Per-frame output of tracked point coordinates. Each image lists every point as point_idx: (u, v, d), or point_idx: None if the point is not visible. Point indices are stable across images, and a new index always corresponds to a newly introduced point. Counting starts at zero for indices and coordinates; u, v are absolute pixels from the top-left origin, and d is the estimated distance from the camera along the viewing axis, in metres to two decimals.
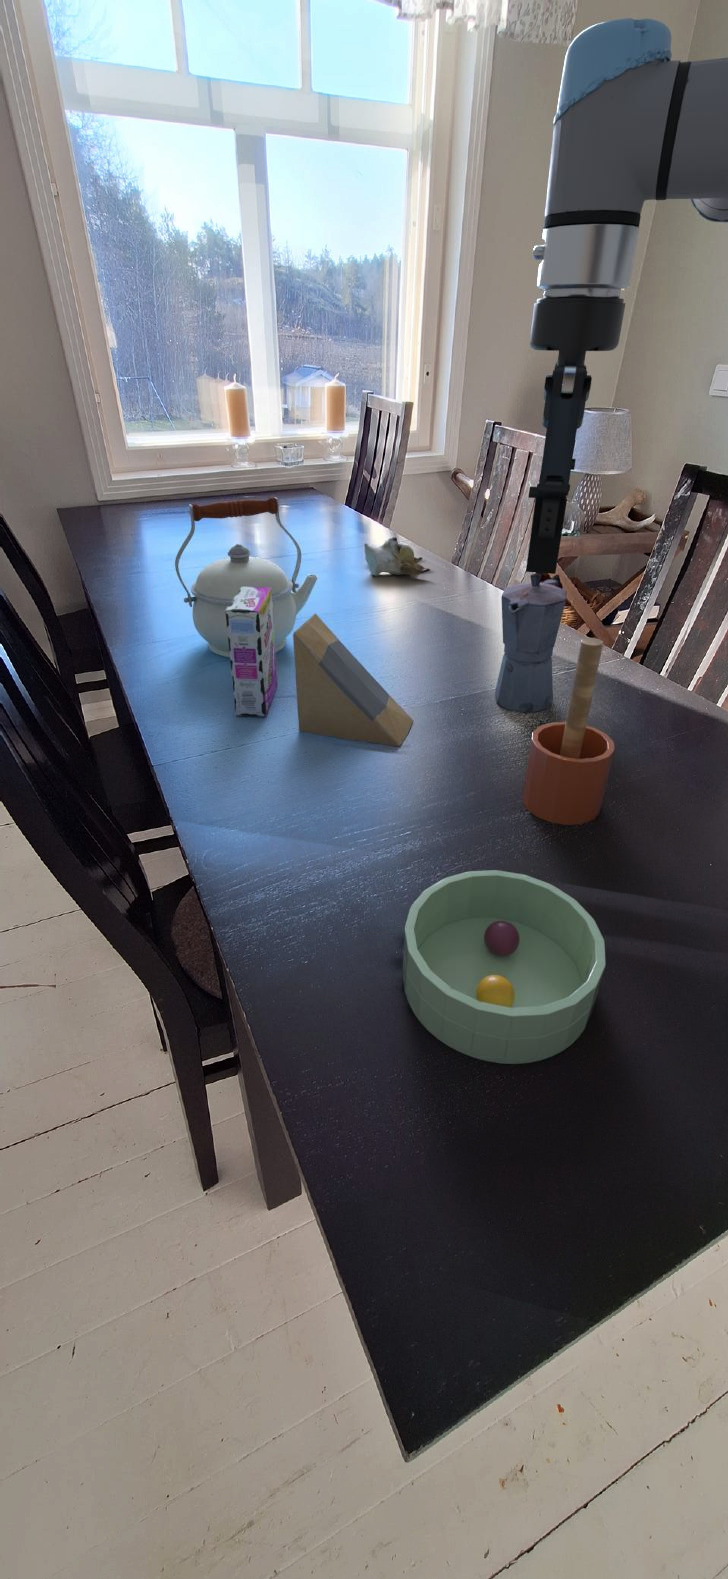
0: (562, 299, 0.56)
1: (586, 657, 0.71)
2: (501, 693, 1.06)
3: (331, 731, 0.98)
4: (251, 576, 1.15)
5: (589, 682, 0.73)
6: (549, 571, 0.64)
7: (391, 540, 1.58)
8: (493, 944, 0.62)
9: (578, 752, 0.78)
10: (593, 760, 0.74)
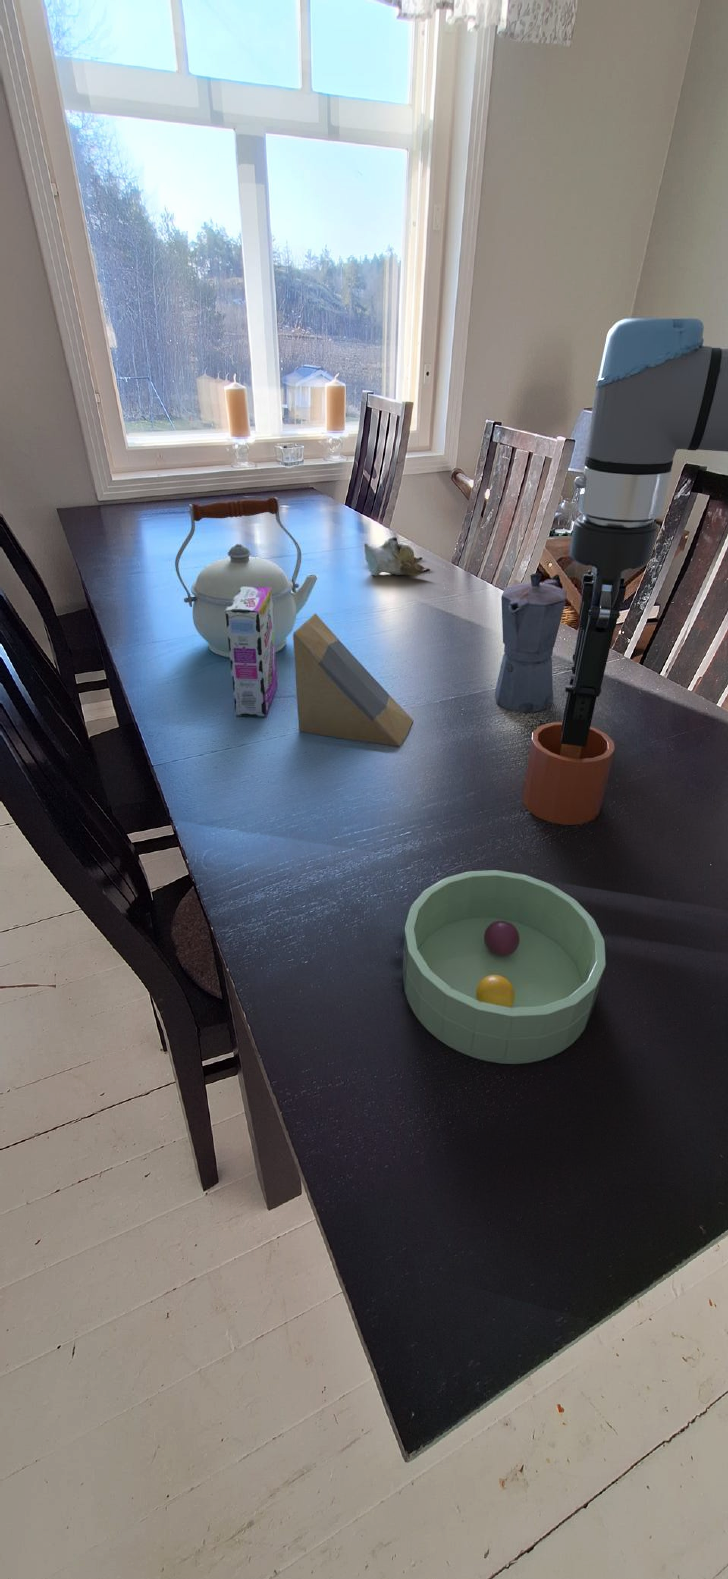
0: (601, 529, 0.62)
1: None
2: (501, 693, 1.06)
3: (331, 731, 0.98)
4: (251, 576, 1.15)
5: None
6: (581, 744, 0.76)
7: (391, 540, 1.58)
8: (493, 944, 0.62)
9: (578, 752, 0.78)
10: (593, 760, 0.74)
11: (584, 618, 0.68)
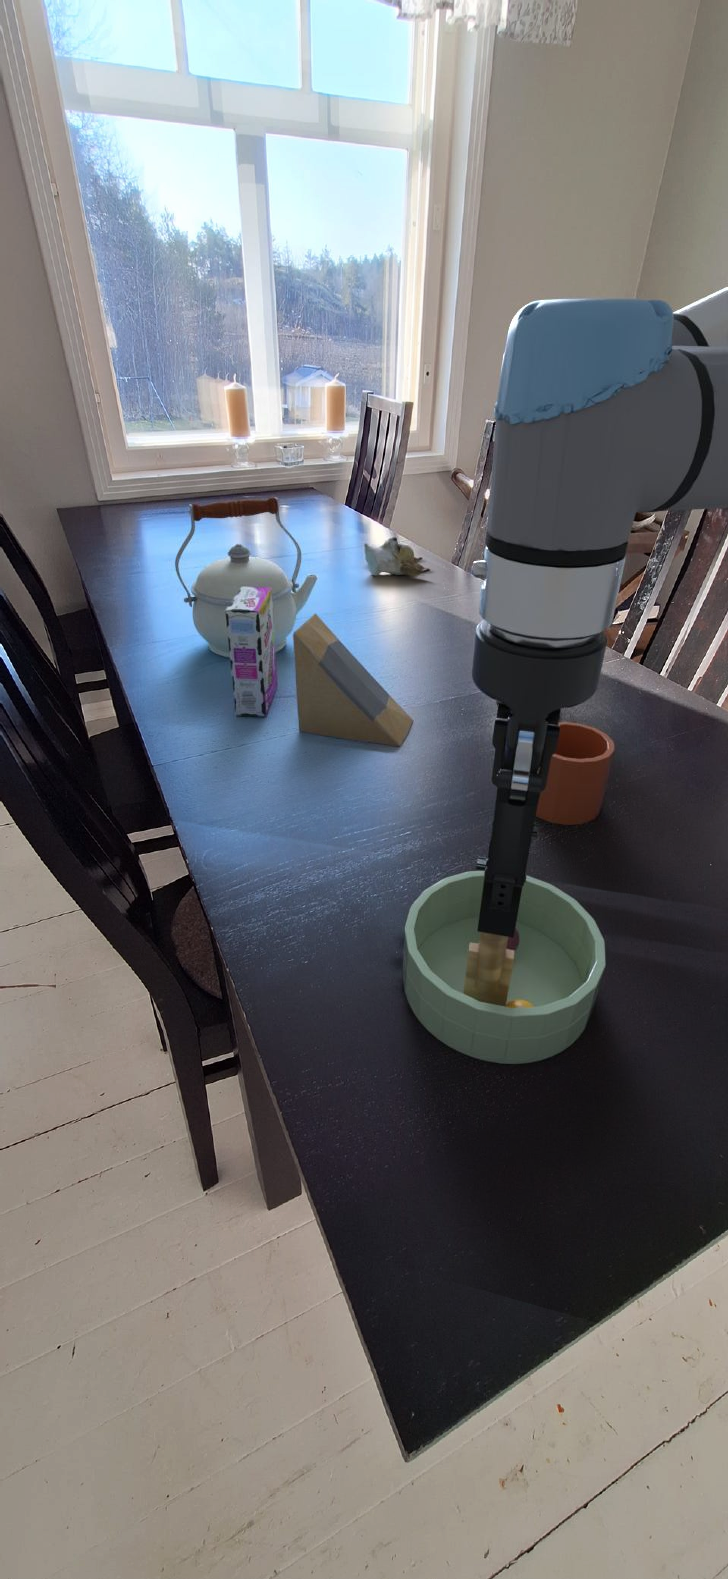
0: (513, 649, 0.38)
1: None
2: None
3: (331, 731, 0.98)
4: (251, 576, 1.15)
5: None
6: (506, 934, 0.52)
7: (391, 540, 1.58)
8: None
9: (504, 939, 0.53)
10: (593, 760, 0.74)
11: (497, 772, 0.44)
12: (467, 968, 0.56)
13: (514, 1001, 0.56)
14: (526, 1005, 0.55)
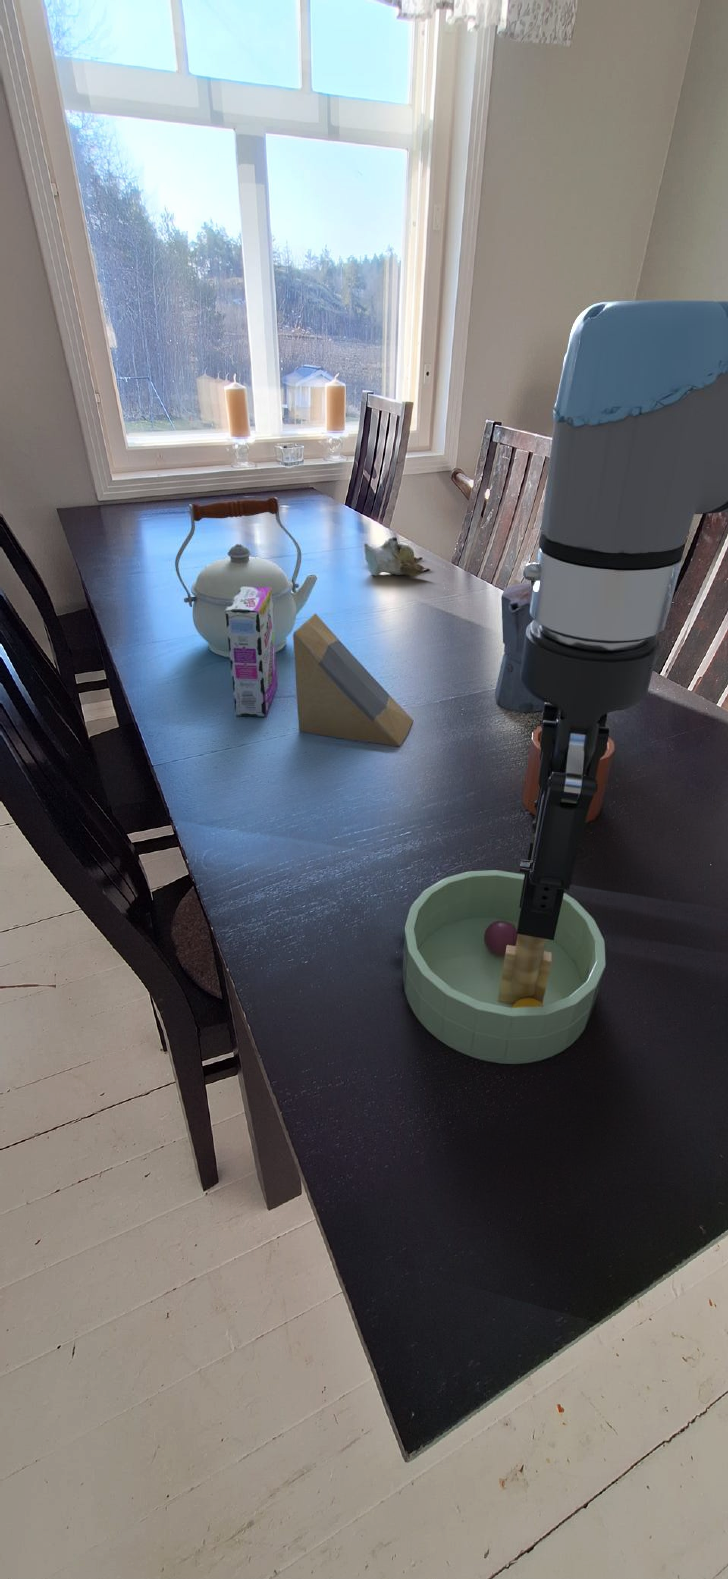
0: (567, 651, 0.38)
1: None
2: (501, 693, 1.06)
3: (331, 731, 0.98)
4: (251, 576, 1.15)
5: None
6: (546, 937, 0.51)
7: (391, 540, 1.58)
8: (493, 944, 0.62)
9: (542, 941, 0.53)
10: None
11: (544, 774, 0.44)
12: (503, 970, 0.56)
13: (528, 998, 0.56)
14: (537, 1005, 0.55)
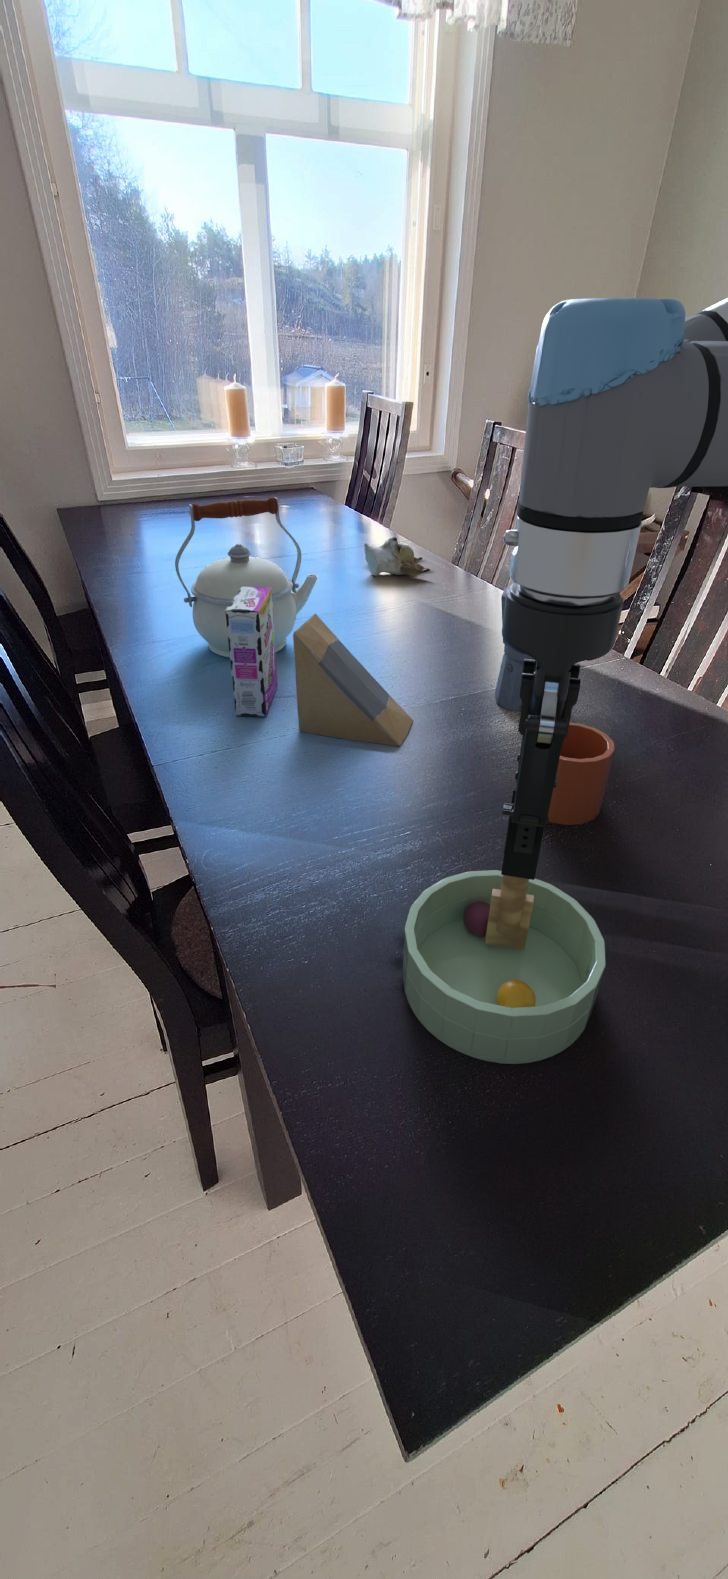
0: (541, 607, 0.43)
1: None
2: (501, 693, 1.06)
3: (331, 731, 0.98)
4: (251, 576, 1.15)
5: None
6: (527, 877, 0.57)
7: (391, 540, 1.58)
8: (464, 919, 0.65)
9: (525, 883, 0.58)
10: (593, 760, 0.74)
11: (524, 722, 0.49)
12: (490, 912, 0.62)
13: None
14: None
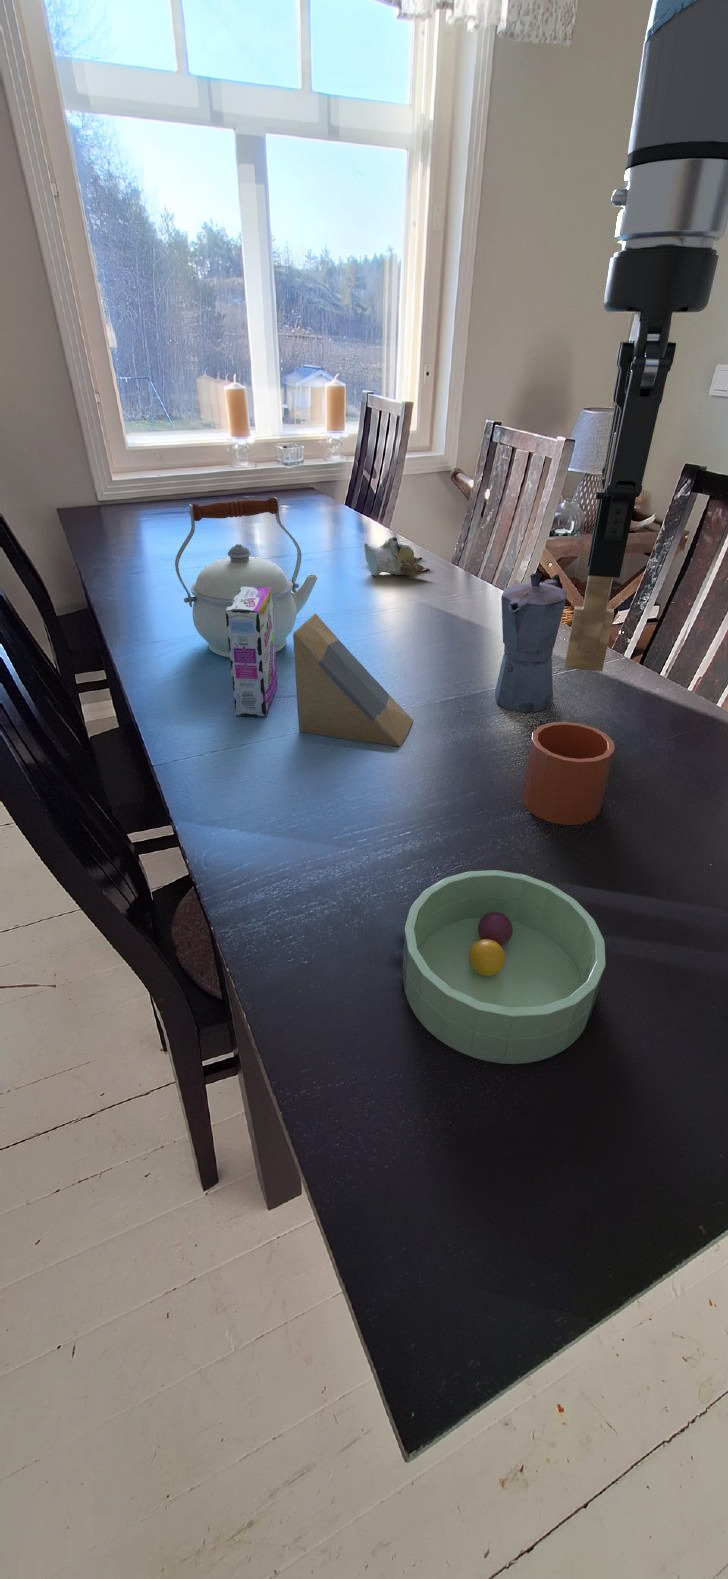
0: (648, 250, 0.48)
1: None
2: (501, 693, 1.06)
3: (331, 731, 0.98)
4: (251, 576, 1.15)
5: None
6: (613, 575, 0.62)
7: (391, 540, 1.58)
8: (497, 920, 0.63)
9: (608, 589, 0.64)
10: (593, 760, 0.74)
11: (621, 392, 0.54)
12: (572, 629, 0.67)
13: (499, 965, 0.60)
14: None
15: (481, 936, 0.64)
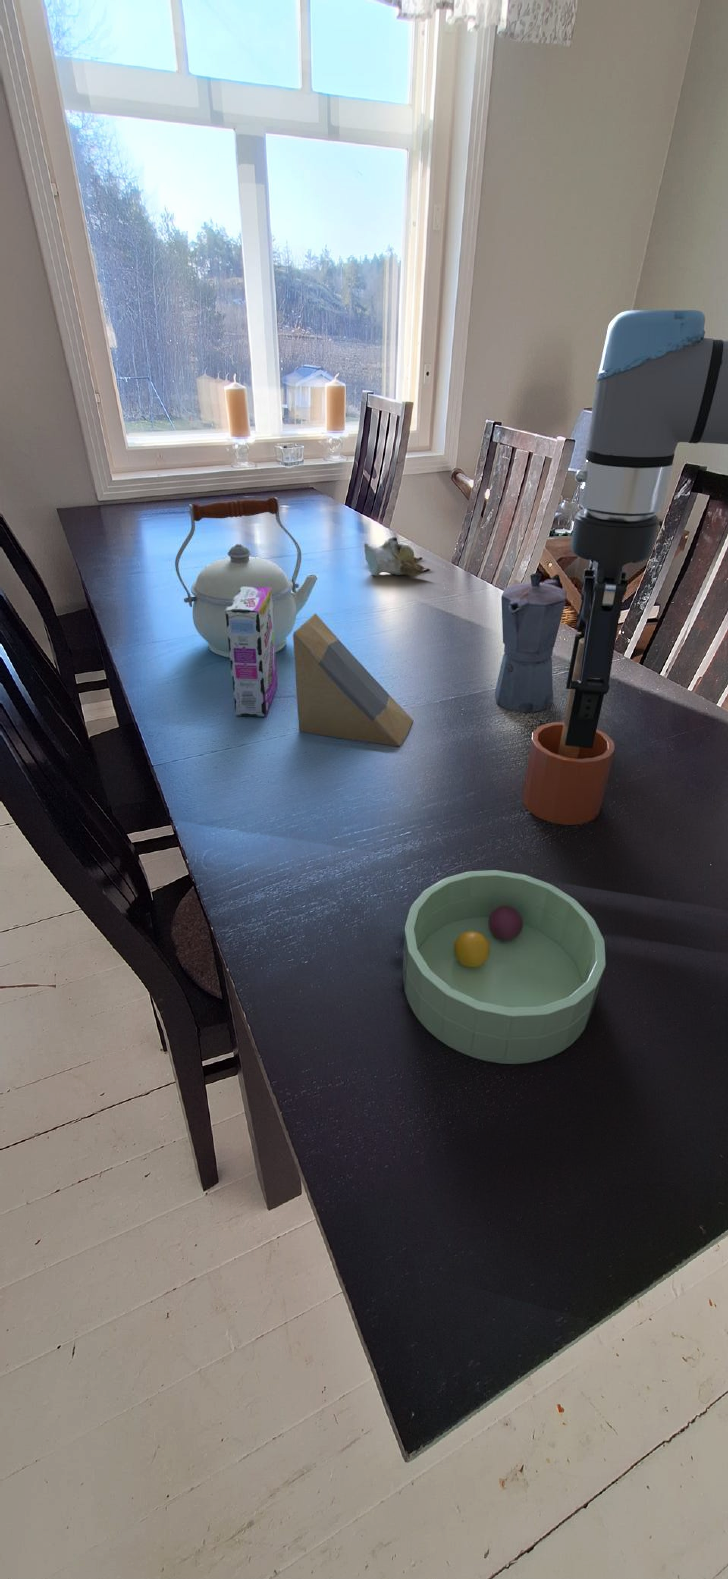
0: (603, 523, 0.62)
1: None
2: (501, 693, 1.06)
3: (331, 731, 0.98)
4: (251, 576, 1.15)
5: None
6: (587, 746, 0.70)
7: (391, 540, 1.58)
8: (516, 910, 0.65)
9: (576, 752, 0.78)
10: (593, 760, 0.74)
11: (587, 608, 0.66)
12: None
13: (474, 944, 0.61)
14: (482, 953, 0.61)
15: (495, 917, 0.64)
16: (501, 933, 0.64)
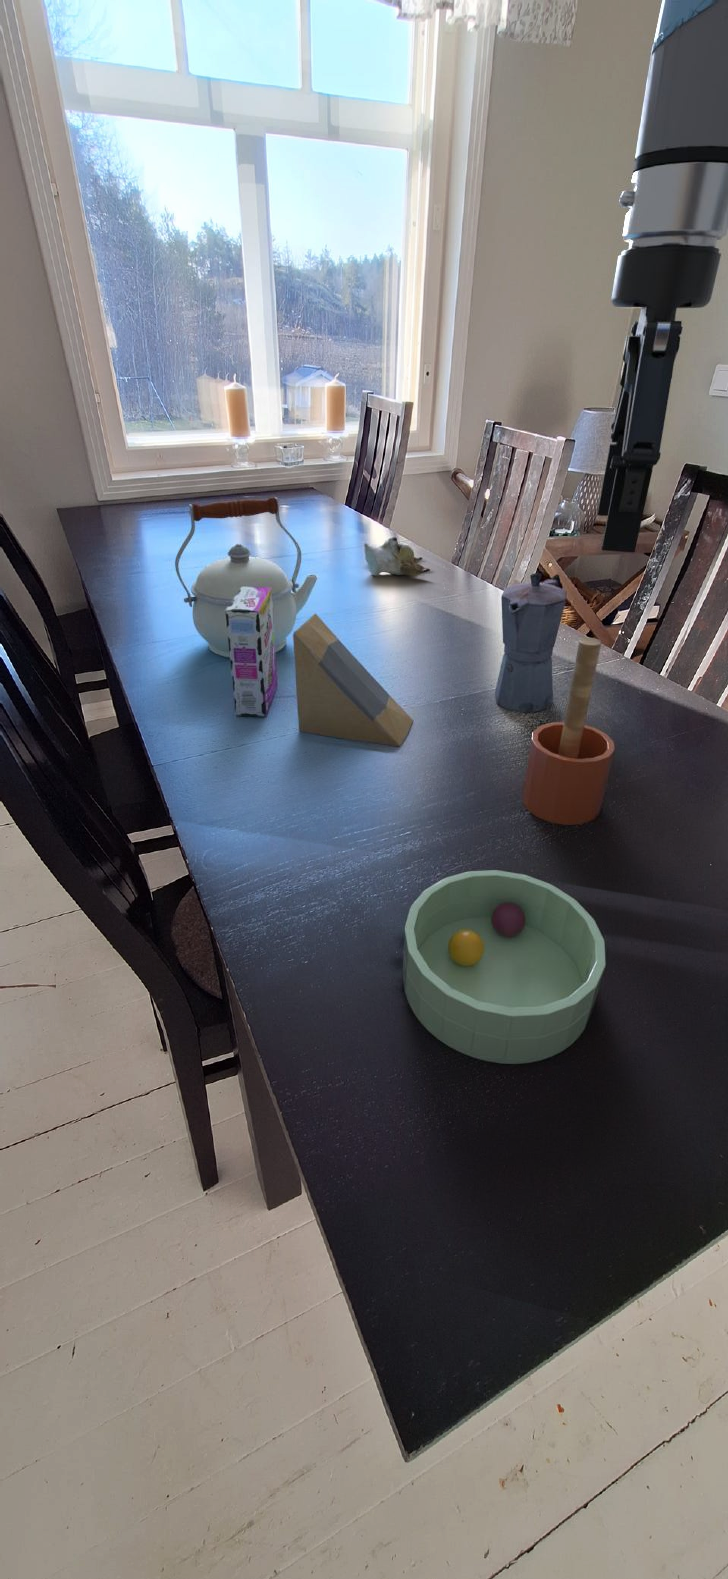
0: (654, 248, 0.51)
1: (584, 657, 0.71)
2: (501, 693, 1.06)
3: (331, 731, 0.98)
4: (251, 576, 1.15)
5: (587, 682, 0.73)
6: (628, 549, 0.59)
7: (391, 540, 1.58)
8: (520, 908, 0.65)
9: (576, 752, 0.78)
10: (593, 760, 0.74)
11: (632, 371, 0.55)
12: None
13: (463, 941, 0.61)
14: (473, 948, 0.61)
15: (501, 909, 0.65)
16: (505, 925, 0.64)
